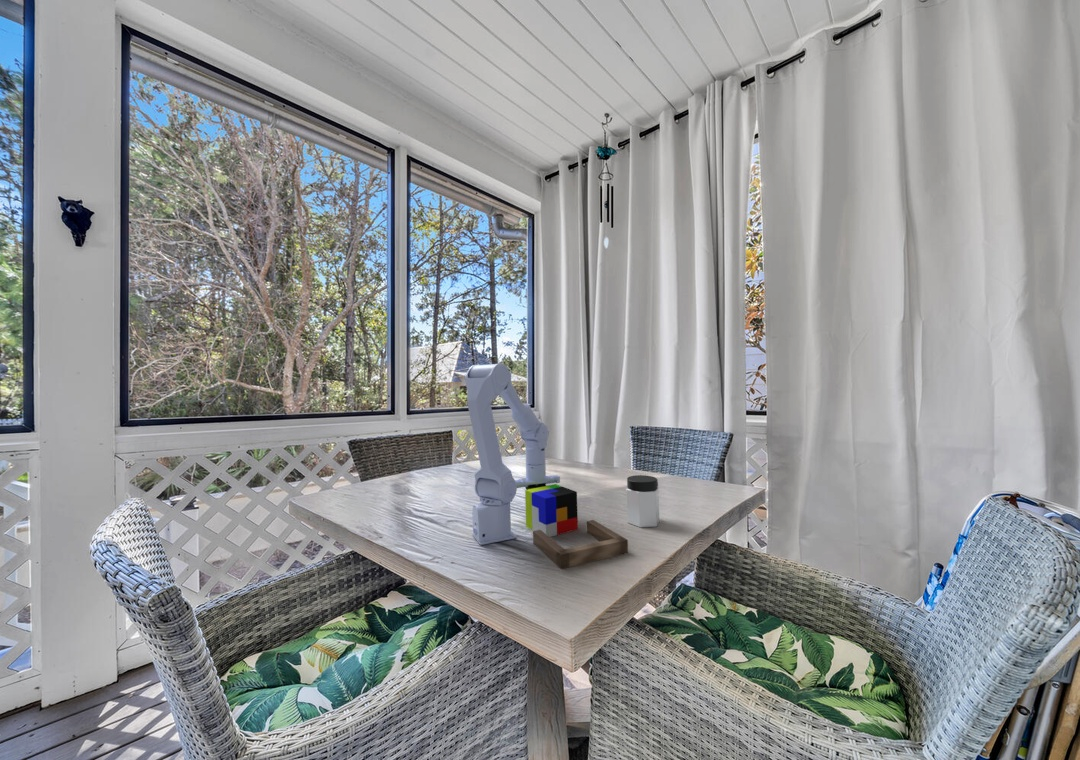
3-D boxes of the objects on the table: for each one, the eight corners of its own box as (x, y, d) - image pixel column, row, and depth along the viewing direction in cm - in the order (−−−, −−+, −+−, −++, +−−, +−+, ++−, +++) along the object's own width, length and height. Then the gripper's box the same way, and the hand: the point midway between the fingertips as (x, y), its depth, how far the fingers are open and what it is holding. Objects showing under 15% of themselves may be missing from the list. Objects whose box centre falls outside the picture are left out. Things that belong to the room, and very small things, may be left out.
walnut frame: (560, 568, 86) (560, 554, 86) (533, 543, 100) (532, 531, 100) (628, 553, 93) (627, 539, 93) (593, 531, 107) (593, 519, 107)
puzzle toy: (546, 538, 103) (545, 498, 103) (526, 526, 112) (525, 489, 112) (577, 529, 109) (576, 491, 109) (556, 519, 117) (555, 484, 117)
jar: (666, 523, 111) (665, 479, 111) (646, 530, 106) (645, 484, 106) (640, 514, 118) (639, 473, 118) (620, 521, 114) (619, 477, 114)
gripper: (552, 458, 126) (553, 502, 126) (507, 463, 120) (508, 510, 120) (562, 462, 119) (563, 509, 119) (515, 468, 113) (517, 517, 113)
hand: (536, 510), depth 119 cm, fingers closed
